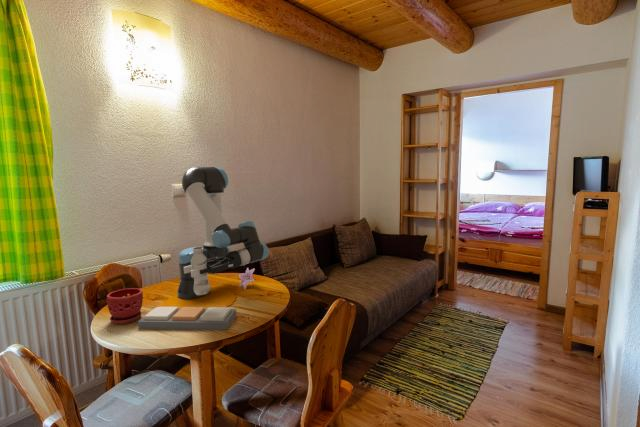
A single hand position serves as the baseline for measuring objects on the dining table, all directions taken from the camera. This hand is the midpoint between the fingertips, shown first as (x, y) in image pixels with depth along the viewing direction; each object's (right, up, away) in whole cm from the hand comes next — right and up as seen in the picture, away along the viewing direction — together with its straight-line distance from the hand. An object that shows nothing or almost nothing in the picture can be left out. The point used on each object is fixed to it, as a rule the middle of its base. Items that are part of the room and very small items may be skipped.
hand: (187, 272), depth 134 cm
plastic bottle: (+4, -10, +6) cm, 12 cm away
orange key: (-1, -19, +4) cm, 19 cm away
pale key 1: (-13, -19, +4) cm, 23 cm away
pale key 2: (+10, -19, +3) cm, 22 cm away
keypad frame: (-1, -22, +4) cm, 22 cm away
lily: (+14, -16, +47) cm, 52 cm away
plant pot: (-29, -22, +7) cm, 37 cm away
